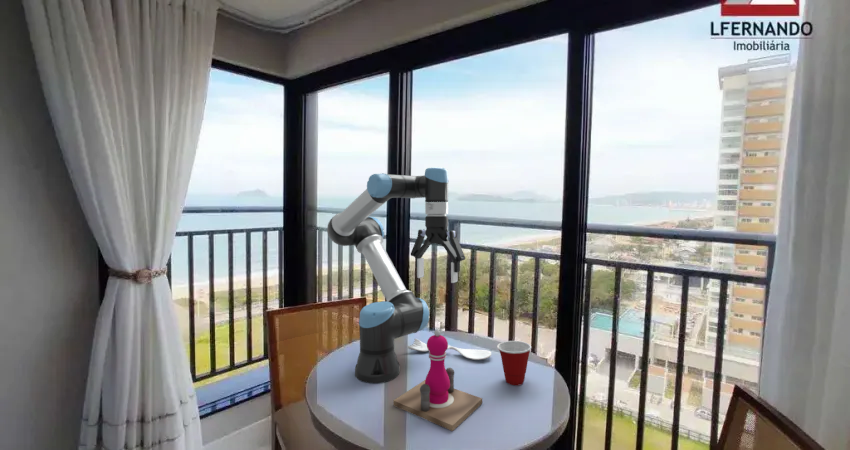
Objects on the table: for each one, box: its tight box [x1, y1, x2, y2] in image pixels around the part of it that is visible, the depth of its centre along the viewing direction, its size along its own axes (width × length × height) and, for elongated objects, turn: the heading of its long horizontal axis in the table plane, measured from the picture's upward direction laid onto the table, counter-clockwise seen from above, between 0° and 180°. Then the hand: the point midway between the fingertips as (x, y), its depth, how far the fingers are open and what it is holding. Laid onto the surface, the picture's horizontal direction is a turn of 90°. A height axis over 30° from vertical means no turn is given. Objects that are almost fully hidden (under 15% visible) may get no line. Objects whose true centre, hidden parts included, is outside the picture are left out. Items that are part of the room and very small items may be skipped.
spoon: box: [406, 338, 492, 361], centre depth 139 cm, size 9×32×4 cm, turn 71°
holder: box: [392, 367, 483, 432], centre depth 104 cm, size 20×16×8 cm
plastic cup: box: [496, 340, 532, 386], centre depth 117 cm, size 11×11×12 cm
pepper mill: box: [424, 329, 450, 404], centre depth 103 cm, size 7×7×20 cm
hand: (436, 279), depth 119 cm, fingers open, 13 cm apart
